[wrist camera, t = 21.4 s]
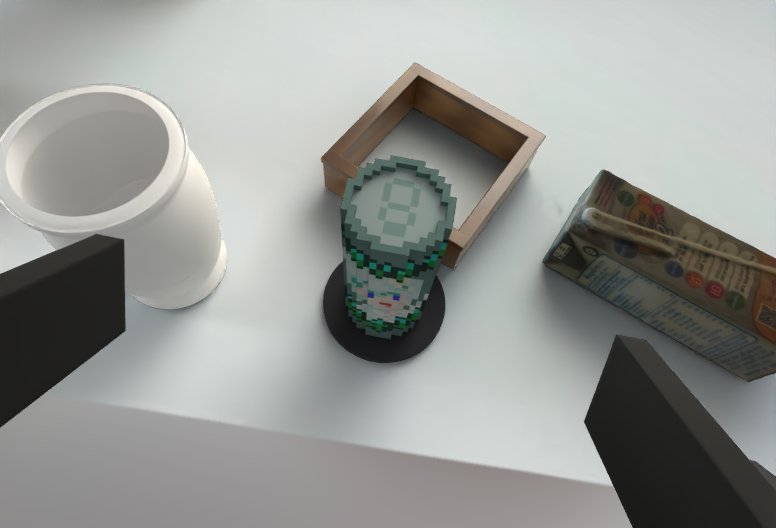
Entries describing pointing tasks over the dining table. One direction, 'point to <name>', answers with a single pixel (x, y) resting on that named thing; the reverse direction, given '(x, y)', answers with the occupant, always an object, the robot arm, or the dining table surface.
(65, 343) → the robot arm
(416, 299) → the can
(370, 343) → the coaster
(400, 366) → the dining table surface
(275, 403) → the dining table surface
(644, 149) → the dining table surface
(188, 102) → the dining table surface
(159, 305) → the jar
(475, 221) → the wooden square frame
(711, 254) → the beverage carton
